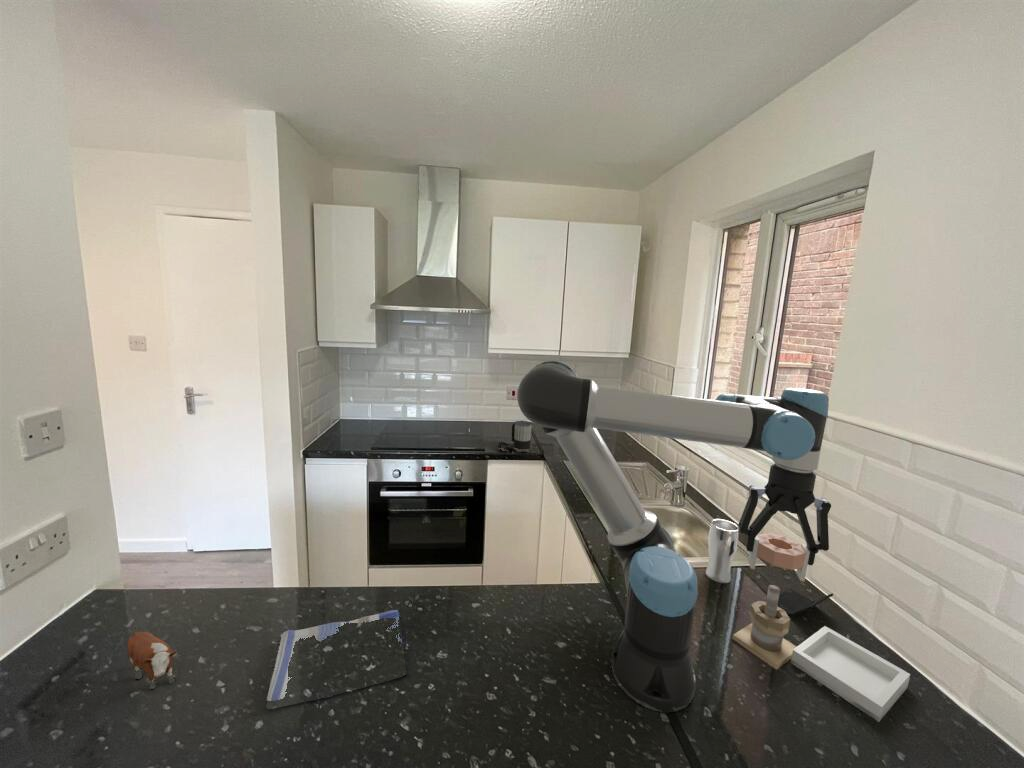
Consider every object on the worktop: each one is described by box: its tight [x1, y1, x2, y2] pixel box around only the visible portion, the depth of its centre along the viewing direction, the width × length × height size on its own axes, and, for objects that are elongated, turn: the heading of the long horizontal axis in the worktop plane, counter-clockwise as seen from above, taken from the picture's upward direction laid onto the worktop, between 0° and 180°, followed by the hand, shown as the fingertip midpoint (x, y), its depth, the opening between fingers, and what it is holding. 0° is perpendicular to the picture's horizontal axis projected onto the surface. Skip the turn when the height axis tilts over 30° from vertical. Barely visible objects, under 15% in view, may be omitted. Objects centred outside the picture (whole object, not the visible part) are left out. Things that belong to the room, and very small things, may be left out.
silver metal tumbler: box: [705, 518, 740, 584], centre depth 109 cm, size 7×7×15 cm
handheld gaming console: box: [777, 588, 834, 620], centre depth 98 cm, size 12×7×10 cm
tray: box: [790, 625, 911, 723], centre depth 80 cm, size 14×14×3 cm
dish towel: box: [266, 609, 402, 701], centre depth 78 cm, size 17×24×3 cm
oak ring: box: [749, 600, 791, 637], centre depth 85 cm, size 6×6×3 cm
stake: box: [732, 584, 798, 670], centre depth 85 cm, size 9×9×14 cm
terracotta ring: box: [757, 532, 806, 571], centre depth 83 cm, size 8×8×3 cm
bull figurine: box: [126, 631, 179, 683], centre depth 71 cm, size 4×13×8 cm, turn 58°
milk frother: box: [497, 420, 533, 449], centre depth 208 cm, size 14×16×15 cm
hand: (775, 571), depth 84 cm, fingers closed on terracotta ring, 8 cm apart
